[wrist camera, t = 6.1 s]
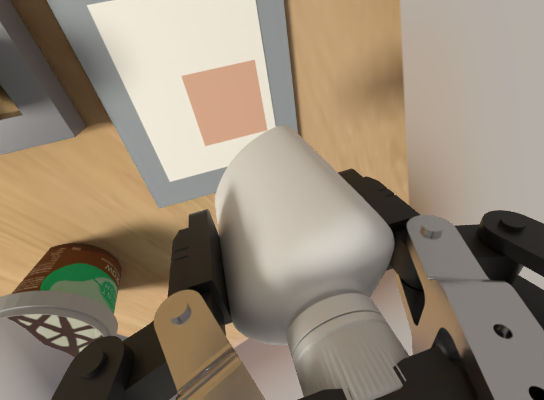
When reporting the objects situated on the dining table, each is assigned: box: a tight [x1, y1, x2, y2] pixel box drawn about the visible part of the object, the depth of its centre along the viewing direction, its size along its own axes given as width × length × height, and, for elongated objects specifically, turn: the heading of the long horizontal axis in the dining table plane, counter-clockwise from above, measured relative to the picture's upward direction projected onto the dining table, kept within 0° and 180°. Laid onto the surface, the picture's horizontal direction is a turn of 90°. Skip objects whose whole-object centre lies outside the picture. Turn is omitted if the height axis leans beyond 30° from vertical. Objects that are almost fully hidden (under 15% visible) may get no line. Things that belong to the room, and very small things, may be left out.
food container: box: [0, 244, 121, 357], centre depth 29 cm, size 12×6×10 cm, turn 14°
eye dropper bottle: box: [215, 125, 409, 400], centre depth 9 cm, size 4×6×12 cm
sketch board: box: [47, 0, 298, 208], centre depth 25 cm, size 22×18×1 cm
